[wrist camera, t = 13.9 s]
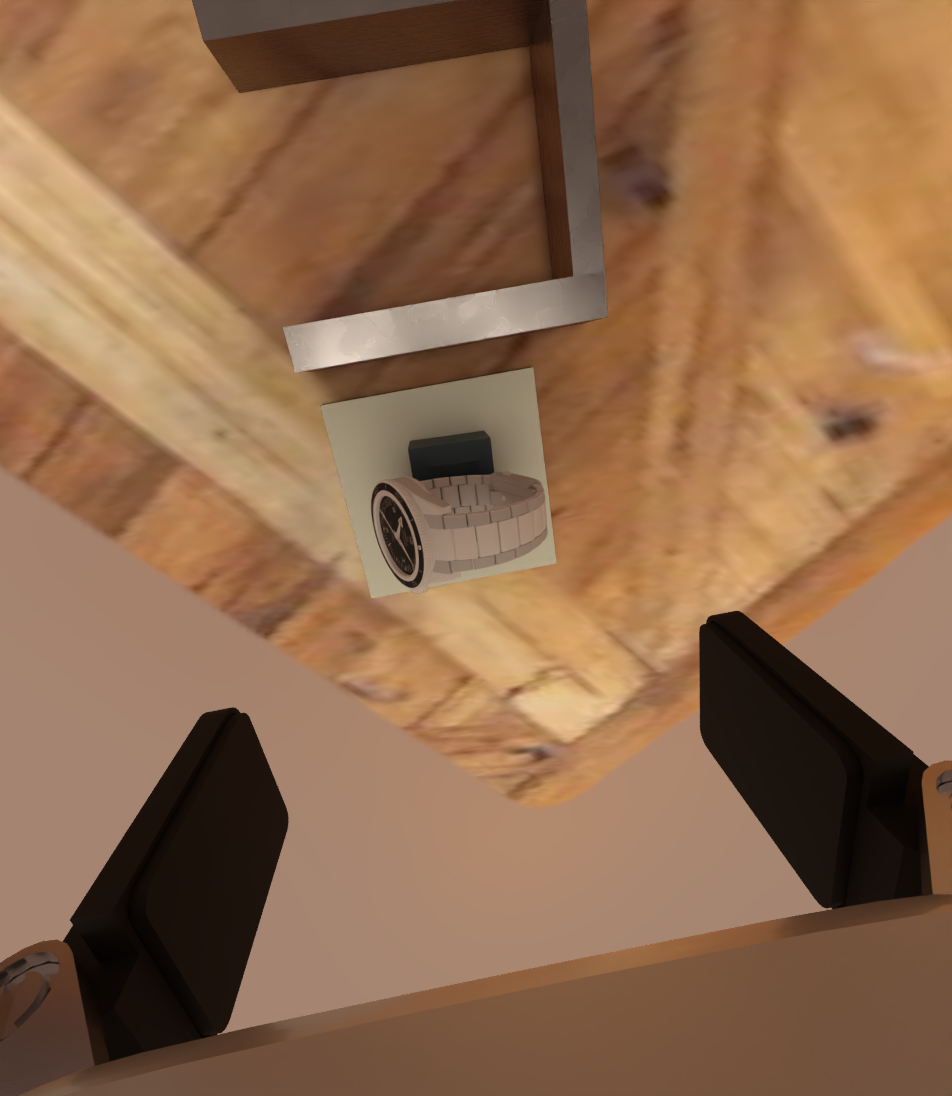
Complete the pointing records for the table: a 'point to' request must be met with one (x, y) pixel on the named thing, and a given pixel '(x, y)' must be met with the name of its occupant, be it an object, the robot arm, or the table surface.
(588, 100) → the u-shaped metal bracket
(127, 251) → the table surface
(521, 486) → the watch
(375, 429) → the sage mat
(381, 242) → the table surface
